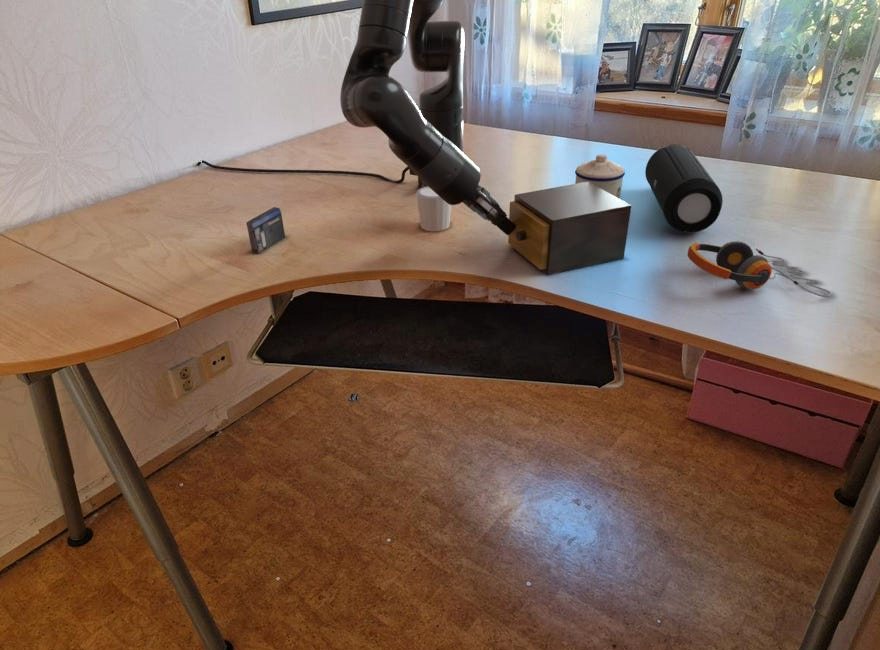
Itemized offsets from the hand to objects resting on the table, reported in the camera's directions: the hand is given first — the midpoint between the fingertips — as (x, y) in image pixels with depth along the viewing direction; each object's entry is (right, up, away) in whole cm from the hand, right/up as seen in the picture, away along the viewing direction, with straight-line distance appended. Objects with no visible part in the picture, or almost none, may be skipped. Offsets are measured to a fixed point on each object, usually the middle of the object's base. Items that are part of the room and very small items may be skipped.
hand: (510, 229), depth 114 cm
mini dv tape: (-44, -1, +11) cm, 46 cm away
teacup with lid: (+19, +7, +16) cm, 26 cm away
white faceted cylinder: (-12, +4, +14) cm, 19 cm away
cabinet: (+10, -4, +1) cm, 11 cm away
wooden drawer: (+8, -3, 0) cm, 9 cm away
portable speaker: (+35, +6, +14) cm, 38 cm away
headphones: (+36, -10, -10) cm, 39 cm away
